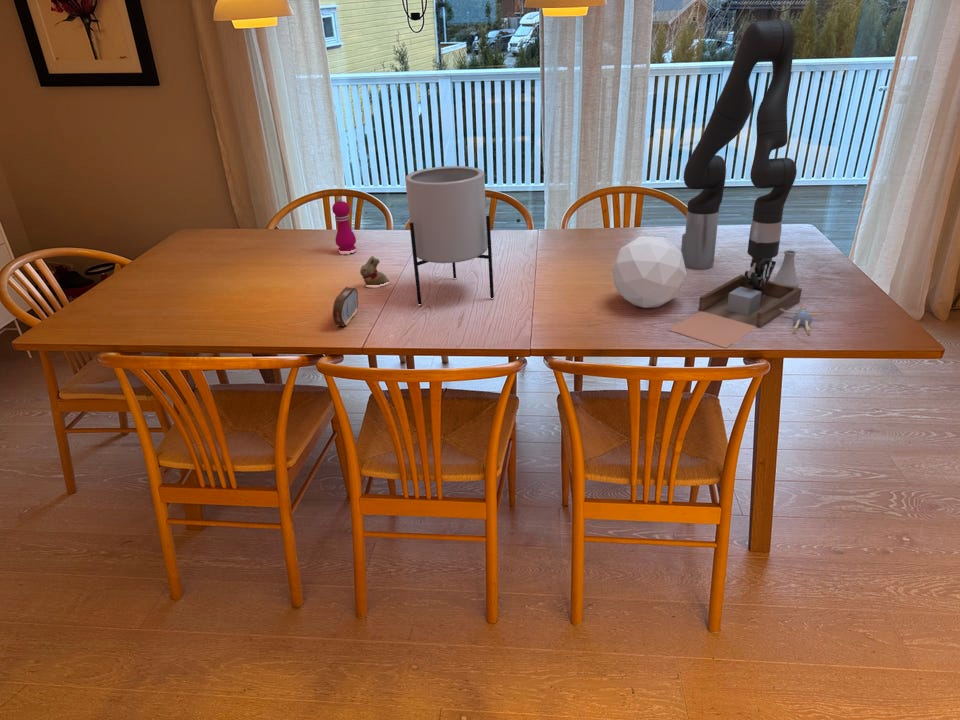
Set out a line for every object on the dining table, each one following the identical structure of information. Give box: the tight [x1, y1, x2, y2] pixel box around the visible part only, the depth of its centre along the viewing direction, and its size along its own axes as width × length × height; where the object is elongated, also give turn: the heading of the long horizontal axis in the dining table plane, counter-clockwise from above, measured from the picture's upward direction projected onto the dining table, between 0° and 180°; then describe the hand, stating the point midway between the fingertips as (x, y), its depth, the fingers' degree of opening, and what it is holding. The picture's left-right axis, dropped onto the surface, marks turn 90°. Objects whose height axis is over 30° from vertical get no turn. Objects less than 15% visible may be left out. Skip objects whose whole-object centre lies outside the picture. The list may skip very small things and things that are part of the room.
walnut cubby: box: [698, 274, 803, 328], centre depth 185 cm, size 17×22×4 cm
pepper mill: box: [332, 196, 357, 251], centre depth 244 cm, size 7×7×20 cm
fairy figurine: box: [779, 305, 829, 336], centre depth 173 cm, size 12×5×12 cm
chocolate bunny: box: [359, 255, 390, 285], centre depth 215 cm, size 6×8×10 cm
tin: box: [332, 286, 359, 326], centre depth 192 cm, size 15×3×8 cm, turn 171°
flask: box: [772, 249, 800, 288], centre depth 196 cm, size 7×7×10 cm
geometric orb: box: [612, 235, 688, 309], centre depth 187 cm, size 19×20×20 cm
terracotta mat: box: [668, 311, 758, 349], centre depth 175 cm, size 16×16×1 cm
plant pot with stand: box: [404, 165, 495, 305], centre depth 198 cm, size 24×24×36 cm
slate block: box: [727, 287, 762, 316], centre depth 183 cm, size 6×6×5 cm
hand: (756, 298), depth 187 cm, fingers closed
